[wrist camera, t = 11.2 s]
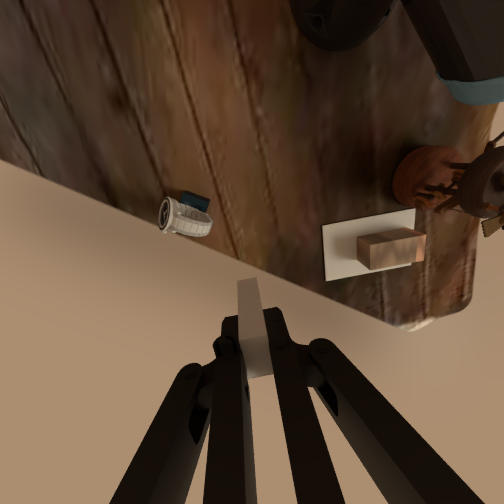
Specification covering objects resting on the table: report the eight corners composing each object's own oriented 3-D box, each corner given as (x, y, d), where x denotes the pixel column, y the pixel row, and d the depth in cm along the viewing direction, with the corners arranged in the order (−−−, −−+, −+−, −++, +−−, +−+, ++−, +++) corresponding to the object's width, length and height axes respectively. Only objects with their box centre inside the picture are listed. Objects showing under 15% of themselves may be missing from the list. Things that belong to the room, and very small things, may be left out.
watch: (175, 186, 40) (155, 194, 30) (219, 203, 42) (214, 216, 31) (166, 216, 42) (145, 233, 32) (209, 231, 43) (202, 252, 33)
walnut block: (370, 245, 41) (426, 234, 41) (356, 236, 46) (406, 227, 46) (370, 270, 43) (423, 260, 43) (356, 260, 47) (404, 250, 47)
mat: (322, 225, 45) (322, 225, 44) (414, 208, 45) (415, 208, 44) (325, 280, 49) (326, 281, 49) (409, 264, 49) (410, 264, 49)
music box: (409, 224, 46) (529, 266, 27) (372, 191, 43) (477, 212, 24) (473, 157, 42) (663, 152, 23) (436, 115, 39) (621, 71, 21)
